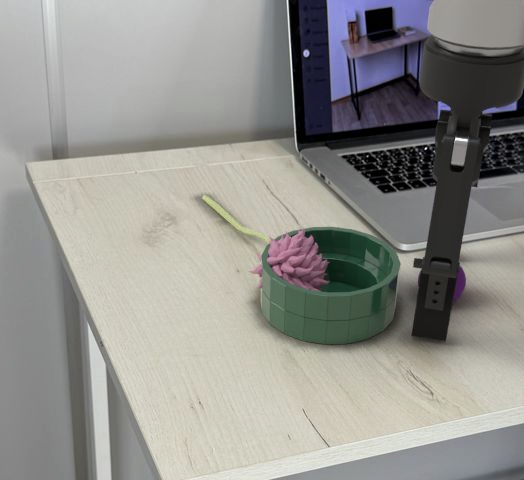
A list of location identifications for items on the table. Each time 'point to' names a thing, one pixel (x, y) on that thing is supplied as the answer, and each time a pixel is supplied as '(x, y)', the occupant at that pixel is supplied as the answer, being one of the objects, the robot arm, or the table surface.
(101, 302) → the table surface
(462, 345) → the table surface
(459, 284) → the ball
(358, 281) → the bowl
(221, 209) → the artificial flower
